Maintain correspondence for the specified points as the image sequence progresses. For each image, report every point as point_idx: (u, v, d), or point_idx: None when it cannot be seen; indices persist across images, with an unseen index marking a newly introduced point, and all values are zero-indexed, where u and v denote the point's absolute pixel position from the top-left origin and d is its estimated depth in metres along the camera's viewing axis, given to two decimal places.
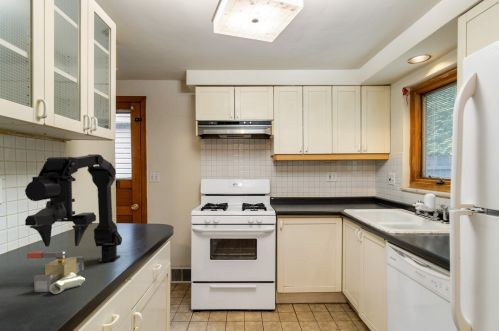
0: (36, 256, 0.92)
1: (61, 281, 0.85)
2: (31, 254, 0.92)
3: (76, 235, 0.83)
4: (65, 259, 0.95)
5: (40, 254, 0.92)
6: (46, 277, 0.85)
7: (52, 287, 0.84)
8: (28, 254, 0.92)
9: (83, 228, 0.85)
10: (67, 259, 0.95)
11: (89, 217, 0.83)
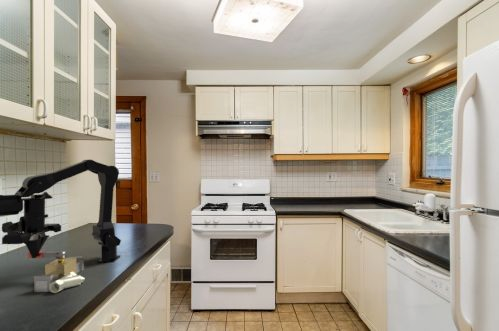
0: (37, 256, 0.93)
1: (60, 280, 0.85)
2: None
3: None
4: (65, 259, 0.95)
5: (41, 254, 0.93)
6: (46, 277, 0.85)
7: (51, 286, 0.84)
8: (29, 254, 0.93)
9: (34, 244, 0.90)
10: (67, 259, 0.95)
11: (7, 238, 0.83)
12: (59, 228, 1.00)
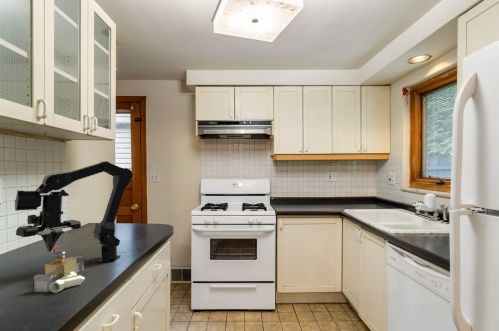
0: (52, 251, 0.98)
1: (61, 280, 0.85)
2: None
3: None
4: (65, 259, 0.95)
5: (53, 249, 0.97)
6: (46, 277, 0.85)
7: (52, 286, 0.84)
8: None
9: None
10: (67, 259, 0.95)
11: (18, 230, 0.90)
12: (77, 225, 1.03)
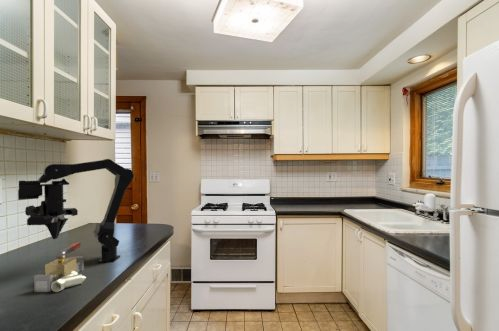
0: None
1: (62, 279, 0.86)
2: None
3: None
4: (65, 259, 0.95)
5: None
6: (46, 277, 0.85)
7: (53, 285, 0.85)
8: None
9: (54, 226, 0.98)
10: (67, 259, 0.95)
11: (32, 220, 0.91)
12: (76, 212, 1.08)
